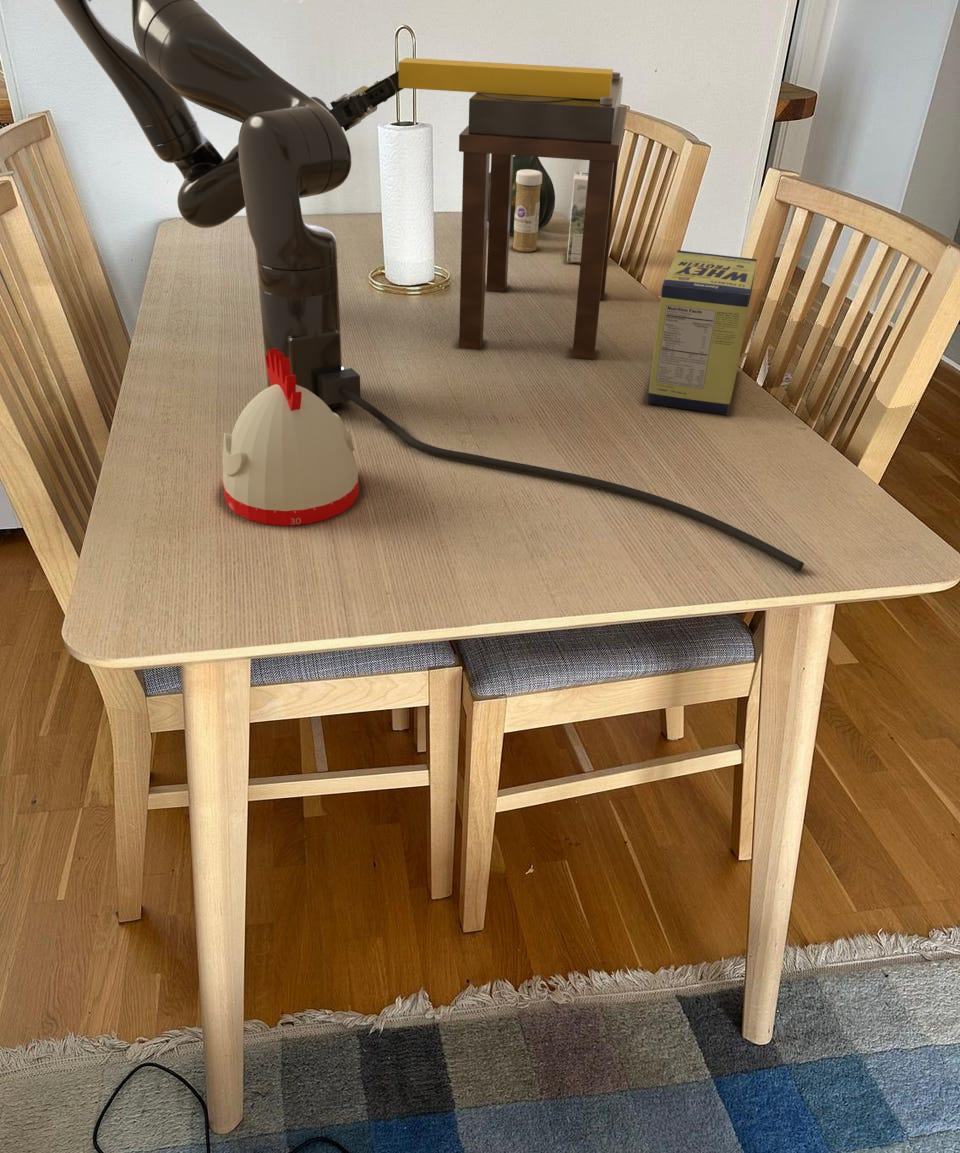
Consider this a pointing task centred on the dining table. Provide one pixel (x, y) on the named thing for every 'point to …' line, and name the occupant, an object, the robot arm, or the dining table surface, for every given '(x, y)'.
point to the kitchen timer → (288, 455)
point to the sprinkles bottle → (527, 210)
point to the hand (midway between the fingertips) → (400, 80)
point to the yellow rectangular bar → (505, 78)
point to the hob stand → (504, 133)
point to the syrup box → (577, 217)
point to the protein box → (700, 331)
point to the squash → (545, 190)
